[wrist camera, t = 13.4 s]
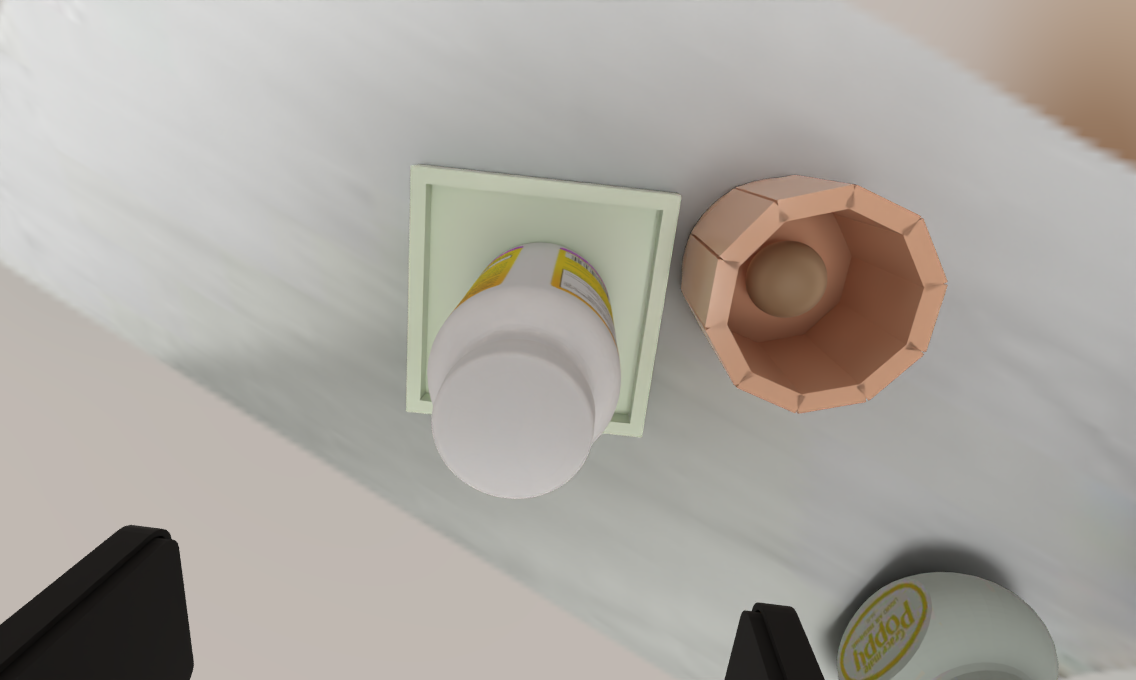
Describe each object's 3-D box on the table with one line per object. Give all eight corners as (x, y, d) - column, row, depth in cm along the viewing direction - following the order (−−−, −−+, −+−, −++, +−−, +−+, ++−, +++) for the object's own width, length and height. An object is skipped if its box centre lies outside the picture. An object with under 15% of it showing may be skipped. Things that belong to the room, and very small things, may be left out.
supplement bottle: (471, 363, 30) (391, 515, 18) (478, 232, 28) (392, 304, 16) (602, 377, 30) (612, 539, 18) (619, 247, 28) (644, 331, 16)
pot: (880, 183, 27) (975, 198, 20) (832, 362, 30) (902, 425, 23) (698, 163, 27) (734, 171, 20) (668, 343, 30) (690, 401, 23)
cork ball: (818, 239, 27) (849, 252, 24) (801, 309, 28) (828, 331, 25) (745, 231, 27) (766, 243, 24) (731, 302, 28) (749, 322, 25)
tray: (676, 192, 27) (681, 196, 26) (639, 423, 31) (641, 437, 30) (420, 164, 27) (410, 165, 26) (415, 398, 31) (406, 411, 30)
